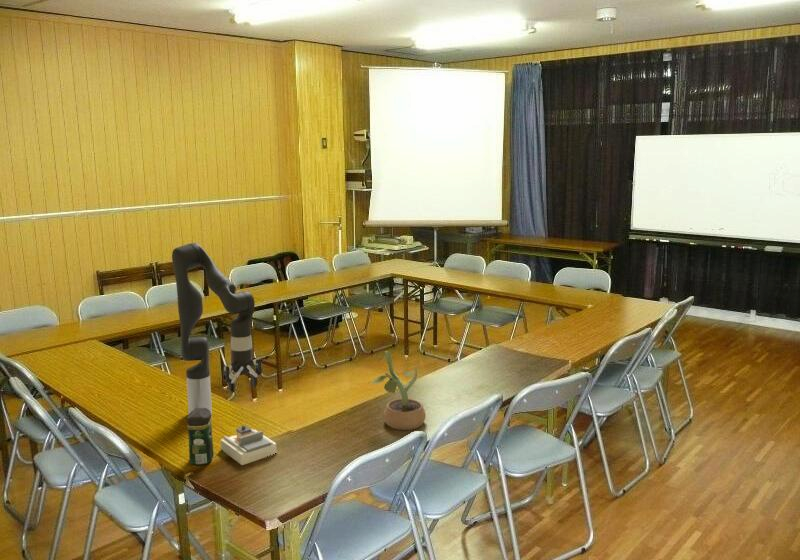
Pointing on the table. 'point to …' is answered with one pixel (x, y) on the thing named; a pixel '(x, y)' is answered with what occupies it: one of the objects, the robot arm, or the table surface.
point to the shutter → (253, 441)
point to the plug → (242, 431)
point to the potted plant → (401, 401)
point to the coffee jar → (200, 436)
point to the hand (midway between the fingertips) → (243, 389)
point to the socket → (241, 455)
